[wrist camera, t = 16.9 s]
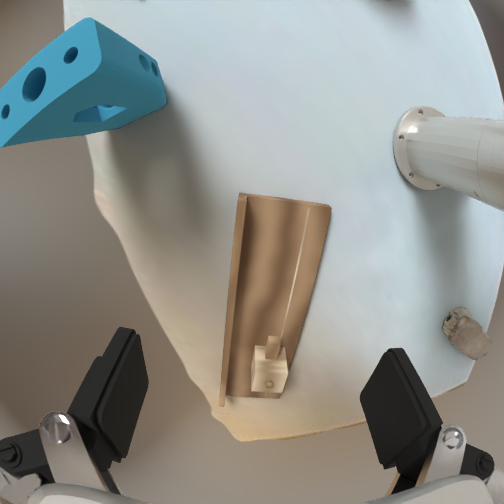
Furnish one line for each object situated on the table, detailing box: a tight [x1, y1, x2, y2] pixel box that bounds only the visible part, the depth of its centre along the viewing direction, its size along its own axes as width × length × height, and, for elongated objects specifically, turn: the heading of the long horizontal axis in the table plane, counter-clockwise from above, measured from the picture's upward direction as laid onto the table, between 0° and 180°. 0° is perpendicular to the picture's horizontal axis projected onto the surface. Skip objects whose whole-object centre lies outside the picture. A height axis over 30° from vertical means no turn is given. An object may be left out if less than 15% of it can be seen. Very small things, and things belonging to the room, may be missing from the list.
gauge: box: [251, 336, 288, 393], centre depth 42 cm, size 5×12×7 cm, turn 173°
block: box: [0, 18, 167, 148], centre depth 20 cm, size 12×5×20 cm, turn 107°
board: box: [219, 193, 332, 407], centre depth 41 cm, size 12×39×4 cm, turn 173°
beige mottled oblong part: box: [443, 307, 491, 360], centre depth 45 cm, size 24×8×5 cm, turn 58°
